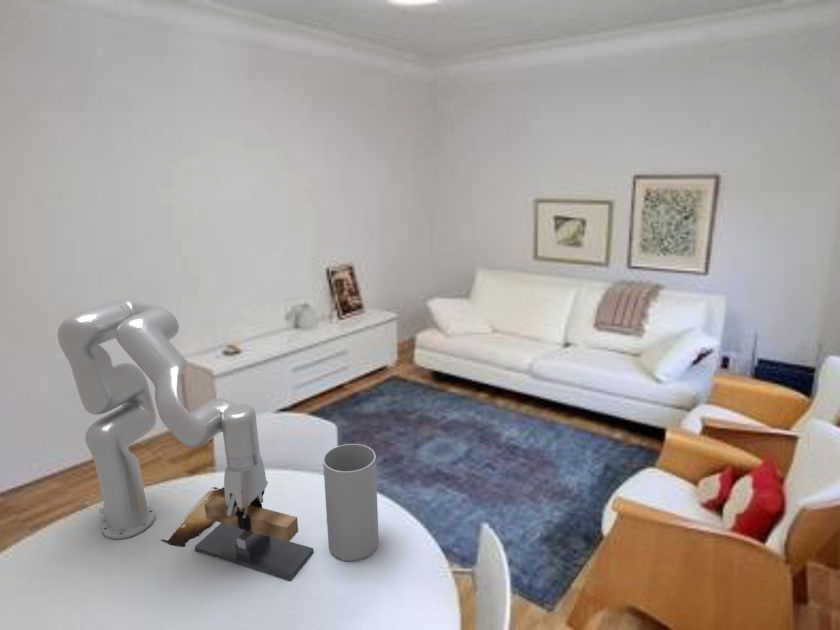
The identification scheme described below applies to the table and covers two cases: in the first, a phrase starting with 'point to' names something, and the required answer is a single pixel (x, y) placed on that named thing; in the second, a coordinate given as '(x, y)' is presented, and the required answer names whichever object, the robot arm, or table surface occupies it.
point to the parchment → (195, 520)
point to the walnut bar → (255, 519)
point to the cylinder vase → (351, 501)
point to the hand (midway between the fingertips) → (251, 522)
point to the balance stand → (255, 551)
